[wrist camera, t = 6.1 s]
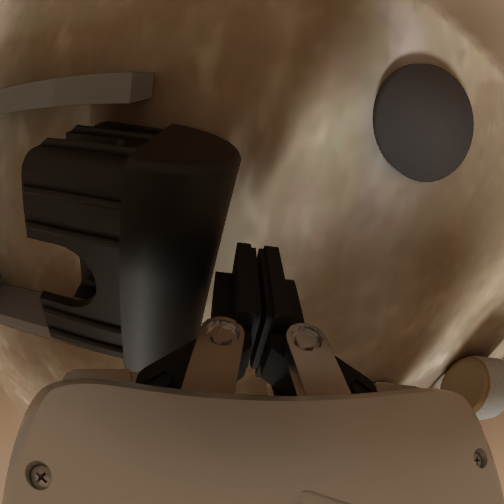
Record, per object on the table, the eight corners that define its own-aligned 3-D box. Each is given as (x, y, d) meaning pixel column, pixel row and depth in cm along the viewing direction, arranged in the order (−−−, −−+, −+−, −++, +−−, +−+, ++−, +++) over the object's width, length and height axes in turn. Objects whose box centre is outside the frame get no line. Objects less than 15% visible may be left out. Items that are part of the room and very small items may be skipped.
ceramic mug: (470, 340, 23) (501, 398, 17) (498, 345, 25) (524, 392, 19) (408, 398, 29) (426, 452, 22) (444, 396, 31) (461, 441, 24)
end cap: (202, 298, 18) (191, 394, 12) (93, 275, 17) (50, 359, 11) (241, 133, 13) (245, 181, 7) (98, 110, 12) (9, 145, 6)
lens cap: (445, 186, 15) (454, 193, 14) (357, 161, 14) (364, 166, 13) (472, 90, 12) (482, 93, 11) (383, 45, 11) (392, 44, 10)
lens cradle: (152, 324, 19) (143, 358, 17) (-4, 292, 17) (-21, 316, 15) (154, 72, 11) (132, 72, 8) (-42, 101, 9) (-73, 113, 7)
